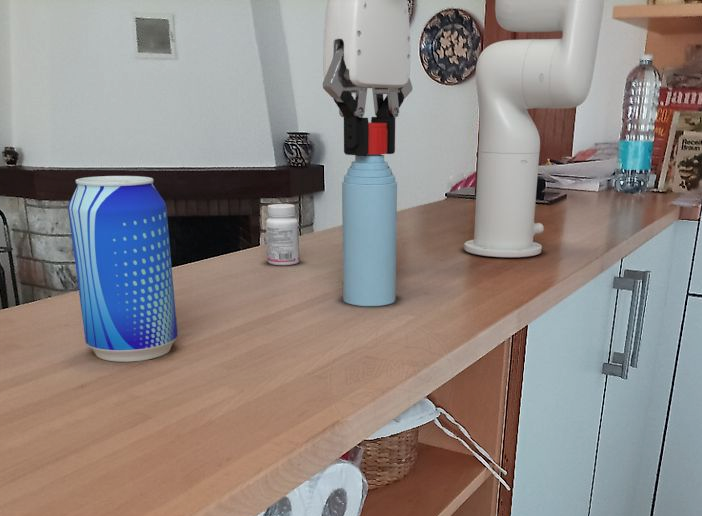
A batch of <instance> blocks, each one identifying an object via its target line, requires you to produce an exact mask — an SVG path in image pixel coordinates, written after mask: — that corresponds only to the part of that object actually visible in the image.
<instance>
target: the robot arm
mask: <svg viewBox="0 0 702 516" xmlns="http://www.w3.org/2000/svg"><path fill="white" fill-rule="evenodd" d="M604 5H605V0H495V3H494V12H495V19H496V22H497V23H498V25H499V26H500V28H502V29H504V30H506V31H508V32H513V33H514V32H515V33H547V32H548V33H549V32H552V33H553V32H562V36H561V38H543V39H541V38H539V39H538V38H530V39H529V38H528V39H527V38H526V39H523V38H522V39H505V40H501V41H500V40H499V41H497V42H493V43H491V44H489V45H488V46H486V47H485V48H484V49H483V50H482V51H481V53H480V54H479V56H478V58H477V61H476V66H475V85H476V93H477V94H476V95H477V102H478V103H477V104H478V115H479V116H478V117H479V123H478V124H479V127H478V128H479V129H478V130H479V131H478V134H479V135H478V150H477V151H478V154H477V171H476V190H475V210H474V211H475V213H474V234H473V239H470V240H467V241H465V242H464V244H463V250H464V251H465V252H466V253H469V254H471V255H476V256H483V257H488V258H489V257H490V258H491V257H492V258H508V259H509V258H511V259H512V258H528V257H534V256H539V255H541V253H542V249H543V246H542V244H540V243H538V242H537V241H534V236H538V235H541V234H543V232H544V230H545V228H544V225H543V223H541V222H535V214H536V201H537V187H538V177H539V176H538V175H539V163H540V162H539V161H540V152H541V137H540V134H539V131H538V128H537V126H536V124H535V122H534V121H533V119H532V117H531V115H530V114H529V111H528V110H530V109H531V110H532V109H573V108H577V107H579V106H581V105H582V104H584V102H585V101H586V99H587V98H588V96H589V93H590V91H591V88H592V83H593V78H594V73H595V66H596V59H597V54H598V46H599V41H600V40H599V39H600V34H601V28H602V27H601V26H602V20H603V13H604ZM409 13H410V12H409V4H408V0H327V2H326V9H325V18H324V29H323V31H324V32H323V51H322V53H323V55H322V56H323V57H322V58H323V59H322V61H323V62H322V64H323V65H322V68H323V69H322V70H323V81H322V88H323V90H324V91H325V92H326V93H327V94H328V95H329V96H330V97H331V98H332V99H333V101H334V103H335V104H336V106H337V107H338V113H339V116H340V117H341V118H343V153H344V154H345V155H346V156H355V155H359V156H366V155H367V154H368V123H369V117H364V116H365V111H366V103H367V95H368V89H371V90H372V100H373V109H374V115H375V116H371V118H370V123H387V153H386V154H385V155H394V154H395V153H396V118H398V117H399V115H400V108H401V106H402V104H403V103H404V100H405V99H406V98H407V97H409V95H410V94H411V92H412V91H413V84H412V82H411V79H410V73H411V29H410V17H409ZM353 94H355V97H354V96H353ZM384 95H386V96H385V97H384Z"/></svg>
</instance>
